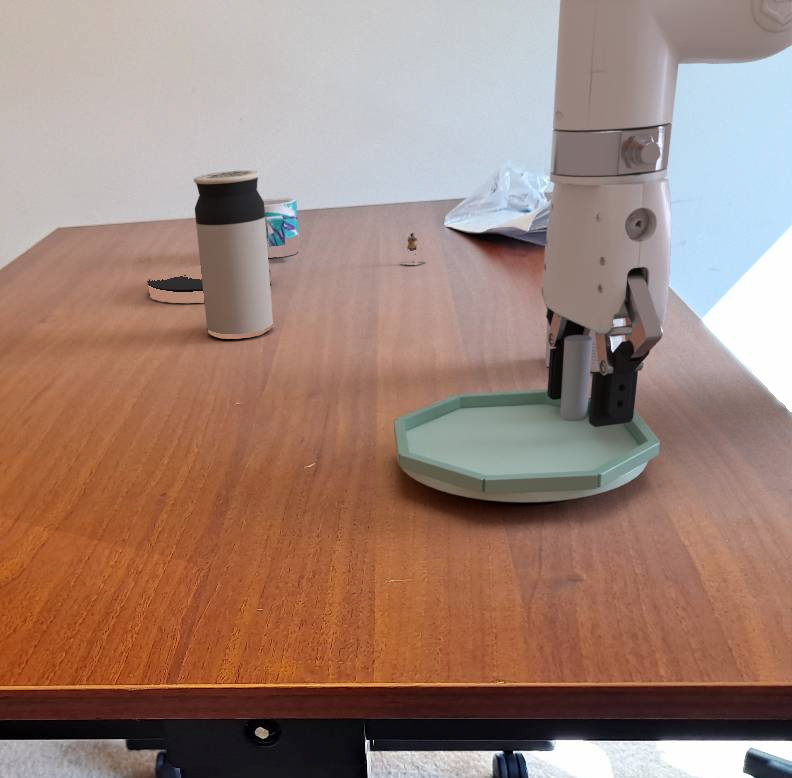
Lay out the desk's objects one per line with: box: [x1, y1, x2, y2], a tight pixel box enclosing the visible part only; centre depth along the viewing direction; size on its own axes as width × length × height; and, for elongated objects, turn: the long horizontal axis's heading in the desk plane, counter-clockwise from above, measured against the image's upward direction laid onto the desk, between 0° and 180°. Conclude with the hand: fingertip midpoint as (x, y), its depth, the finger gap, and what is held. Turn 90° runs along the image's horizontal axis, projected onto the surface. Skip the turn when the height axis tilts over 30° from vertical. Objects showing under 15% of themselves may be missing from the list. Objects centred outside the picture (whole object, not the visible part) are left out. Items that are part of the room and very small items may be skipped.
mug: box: [262, 197, 299, 247], centre depth 158 cm, size 8×12×8 cm
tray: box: [393, 335, 661, 502], centre depth 71 cm, size 18×18×7 cm
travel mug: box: [193, 170, 274, 334], centre depth 114 cm, size 8×8×18 cm
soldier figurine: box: [406, 232, 418, 251], centre depth 144 cm, size 2×1×4 cm, turn 46°
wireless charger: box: [146, 269, 271, 292], centre depth 141 cm, size 18×18×2 cm
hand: (588, 407), depth 74 cm, fingers open, 5 cm apart
